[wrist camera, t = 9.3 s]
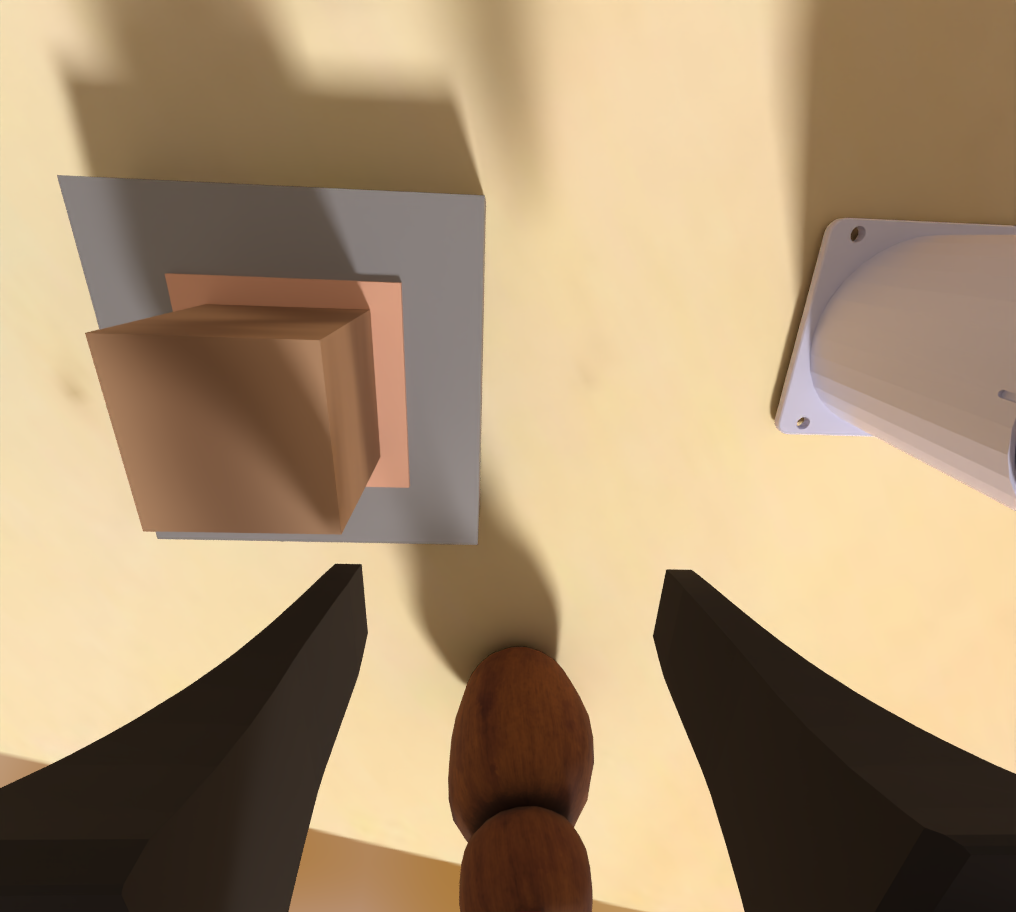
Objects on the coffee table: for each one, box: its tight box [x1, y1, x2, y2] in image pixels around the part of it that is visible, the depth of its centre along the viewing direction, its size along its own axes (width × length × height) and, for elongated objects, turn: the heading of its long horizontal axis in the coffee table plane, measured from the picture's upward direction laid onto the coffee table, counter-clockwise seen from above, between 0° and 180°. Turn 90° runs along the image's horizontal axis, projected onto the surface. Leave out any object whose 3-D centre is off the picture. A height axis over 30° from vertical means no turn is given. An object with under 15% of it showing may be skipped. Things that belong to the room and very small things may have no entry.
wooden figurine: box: [448, 647, 594, 912], centre depth 19 cm, size 7×6×15 cm
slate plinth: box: [57, 175, 486, 545], centre depth 18 cm, size 12×12×3 cm
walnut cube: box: [85, 304, 381, 535], centre depth 14 cm, size 5×5×5 cm
